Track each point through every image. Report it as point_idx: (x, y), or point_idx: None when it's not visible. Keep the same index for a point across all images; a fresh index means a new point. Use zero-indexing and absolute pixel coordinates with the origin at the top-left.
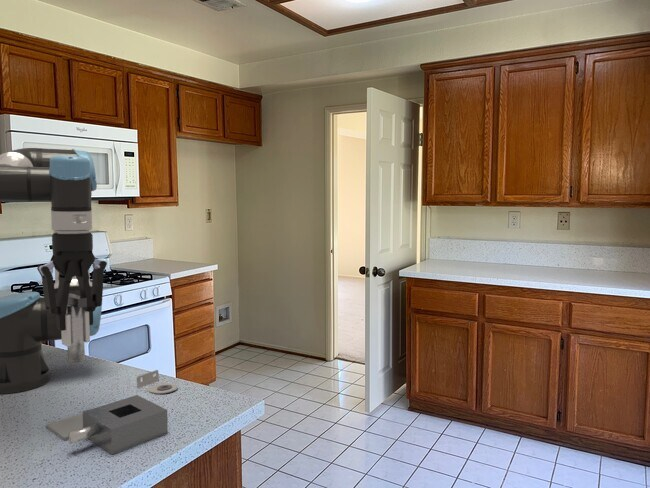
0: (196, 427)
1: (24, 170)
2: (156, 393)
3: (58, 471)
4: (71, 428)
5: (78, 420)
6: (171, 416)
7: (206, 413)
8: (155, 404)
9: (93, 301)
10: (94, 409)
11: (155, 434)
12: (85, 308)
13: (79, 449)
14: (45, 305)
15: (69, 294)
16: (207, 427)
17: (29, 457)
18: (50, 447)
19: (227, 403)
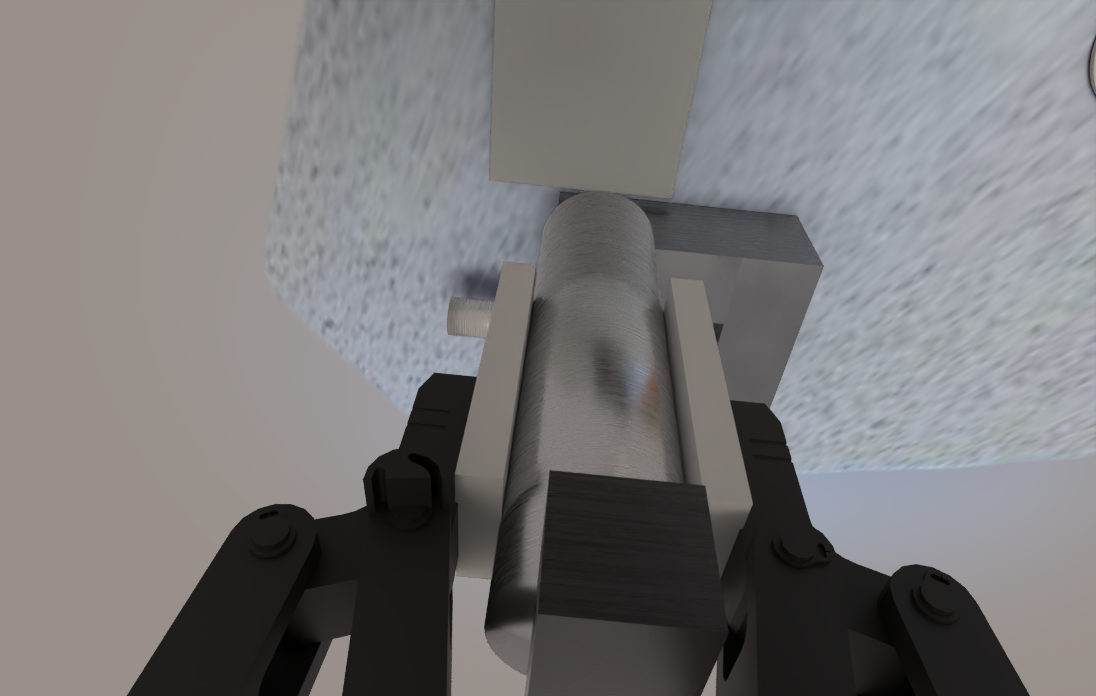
0: (815, 430)
1: None
2: (1090, 61)
3: (391, 339)
4: (550, 122)
5: (615, 65)
6: (859, 315)
7: (934, 389)
8: (772, 396)
9: (869, 665)
10: None
11: None
12: (736, 576)
13: (494, 274)
14: (197, 592)
15: (630, 673)
16: (830, 452)
17: (352, 194)
18: (432, 182)
19: (1056, 389)
